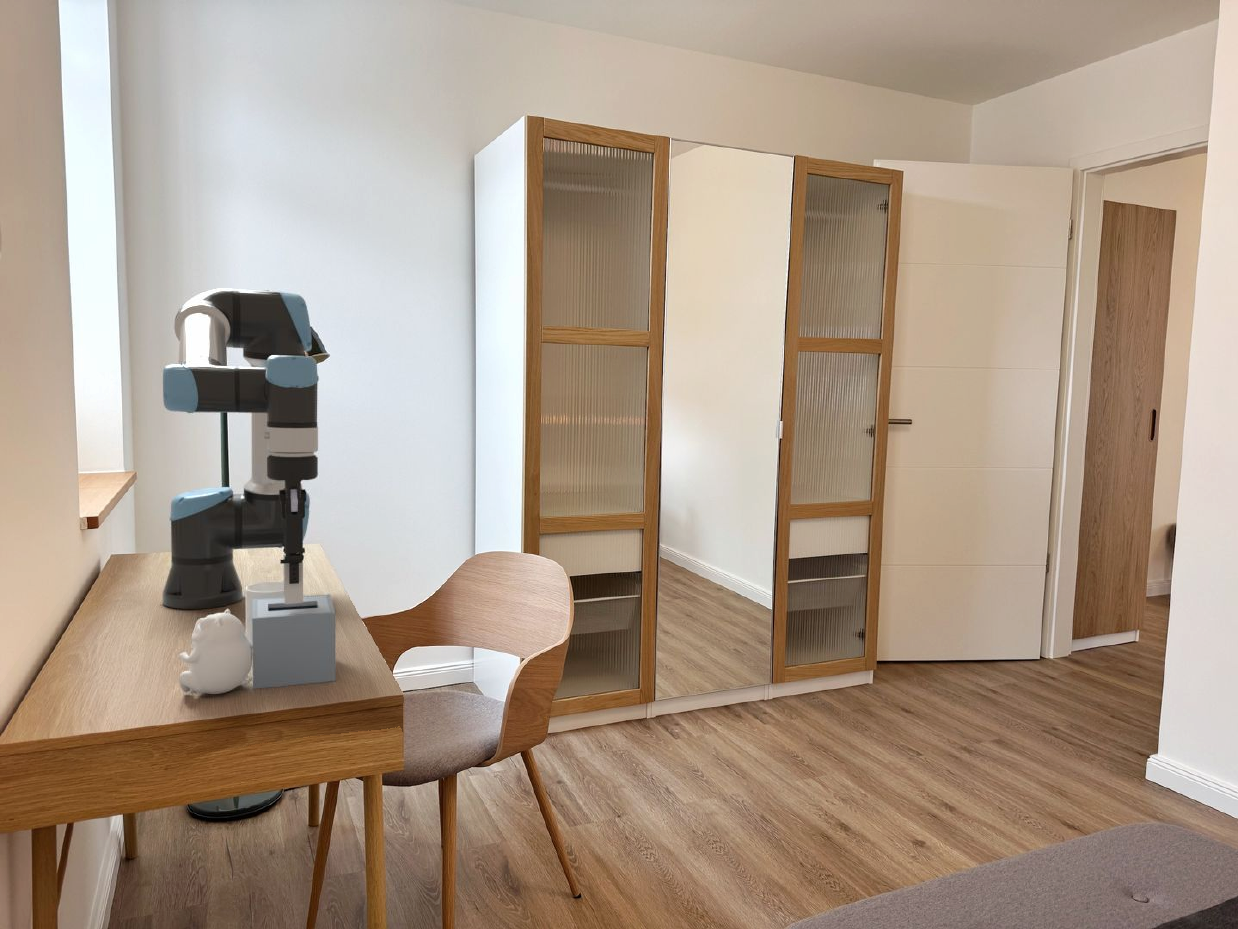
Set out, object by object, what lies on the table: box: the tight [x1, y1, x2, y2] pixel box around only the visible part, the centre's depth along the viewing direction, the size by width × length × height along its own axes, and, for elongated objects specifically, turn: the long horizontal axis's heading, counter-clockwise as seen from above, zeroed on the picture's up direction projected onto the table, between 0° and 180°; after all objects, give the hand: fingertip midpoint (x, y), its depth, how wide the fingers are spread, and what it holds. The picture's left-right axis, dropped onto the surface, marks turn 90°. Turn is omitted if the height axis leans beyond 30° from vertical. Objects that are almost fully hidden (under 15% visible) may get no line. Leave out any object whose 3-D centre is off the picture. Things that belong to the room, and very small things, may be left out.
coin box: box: [252, 594, 336, 690], centre depth 140 cm, size 12×12×11 cm
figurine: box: [177, 608, 253, 695], centre depth 131 cm, size 10×10×12 cm
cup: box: [245, 580, 285, 648], centre depth 157 cm, size 8×12×10 cm
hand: (293, 598), depth 139 cm, fingers open, 5 cm apart
